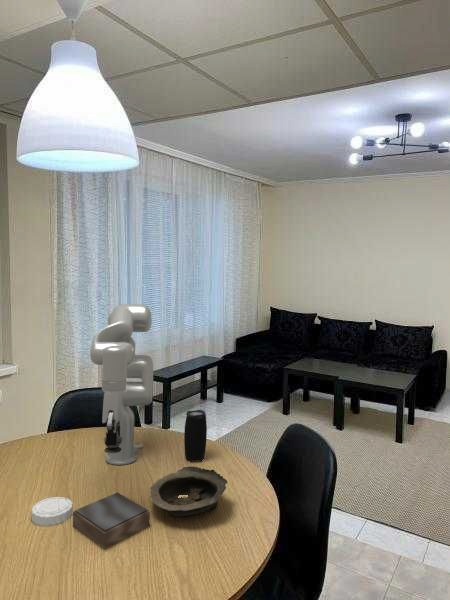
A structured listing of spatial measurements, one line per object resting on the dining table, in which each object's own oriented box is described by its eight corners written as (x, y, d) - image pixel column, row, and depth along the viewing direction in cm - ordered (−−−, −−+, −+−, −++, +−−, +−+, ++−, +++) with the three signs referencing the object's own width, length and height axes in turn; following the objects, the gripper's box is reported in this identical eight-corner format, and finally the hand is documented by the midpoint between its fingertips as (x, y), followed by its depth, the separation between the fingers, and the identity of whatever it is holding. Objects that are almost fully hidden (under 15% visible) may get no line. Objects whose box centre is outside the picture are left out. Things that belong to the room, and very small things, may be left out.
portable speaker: (179, 460, 182) (180, 412, 181) (193, 452, 190) (194, 407, 189) (196, 465, 177) (197, 417, 176) (209, 457, 185) (211, 411, 184)
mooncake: (31, 509, 141) (31, 498, 141) (71, 503, 146) (71, 492, 146) (31, 530, 131) (31, 518, 130) (74, 522, 135) (74, 510, 135)
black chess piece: (117, 454, 139) (118, 416, 139) (100, 452, 140) (100, 414, 140) (125, 447, 145) (126, 411, 144) (108, 445, 146) (109, 409, 145)
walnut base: (117, 506, 145) (117, 491, 145) (149, 525, 134) (149, 509, 134) (72, 526, 133) (72, 510, 132) (104, 549, 122) (104, 531, 122)
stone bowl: (235, 496, 154) (236, 470, 152) (209, 542, 130) (209, 512, 129) (170, 482, 162) (170, 457, 160) (134, 522, 138) (134, 494, 137)
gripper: (107, 378, 150) (106, 431, 151) (96, 391, 133) (95, 451, 133) (129, 379, 150) (128, 432, 151) (122, 392, 133) (120, 451, 134)
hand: (113, 440), depth 142 cm, fingers closed on black chess piece, 5 cm apart
